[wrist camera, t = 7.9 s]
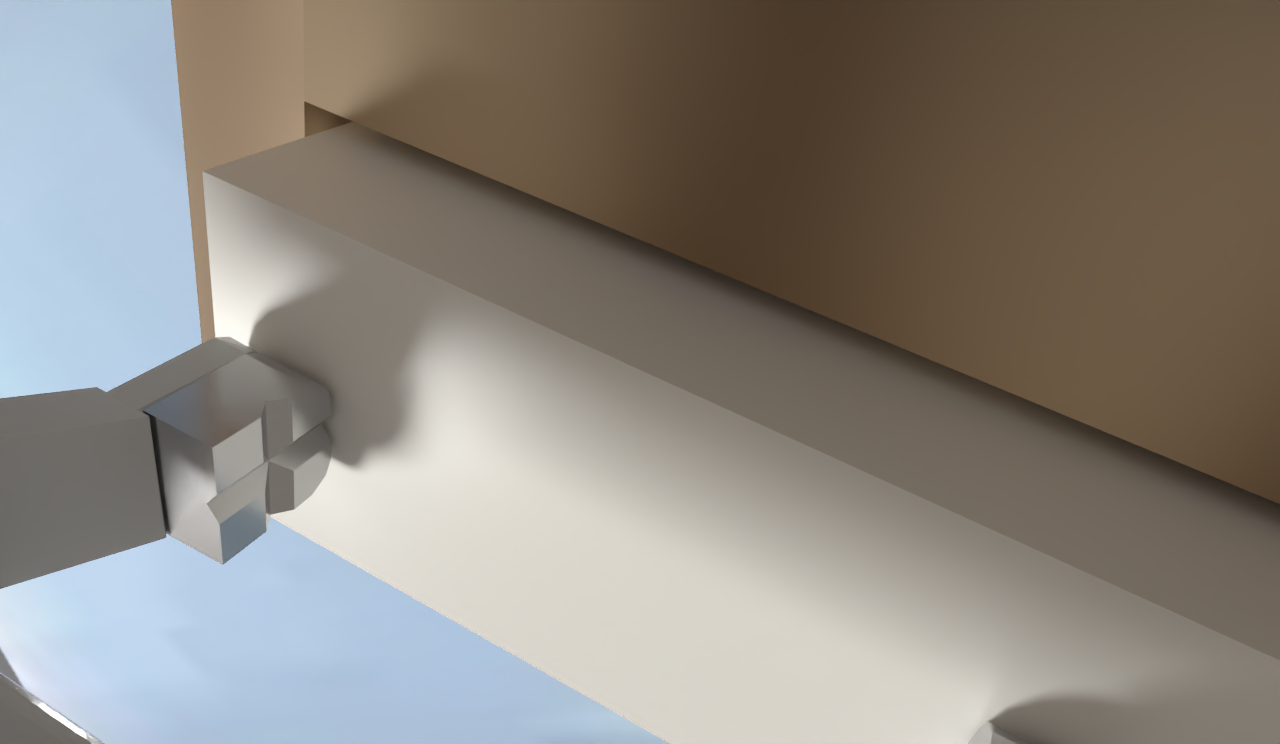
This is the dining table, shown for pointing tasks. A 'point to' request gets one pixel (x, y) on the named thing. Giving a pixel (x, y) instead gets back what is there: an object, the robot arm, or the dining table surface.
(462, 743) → the dining table surface
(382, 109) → the key console
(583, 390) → the ivory key
